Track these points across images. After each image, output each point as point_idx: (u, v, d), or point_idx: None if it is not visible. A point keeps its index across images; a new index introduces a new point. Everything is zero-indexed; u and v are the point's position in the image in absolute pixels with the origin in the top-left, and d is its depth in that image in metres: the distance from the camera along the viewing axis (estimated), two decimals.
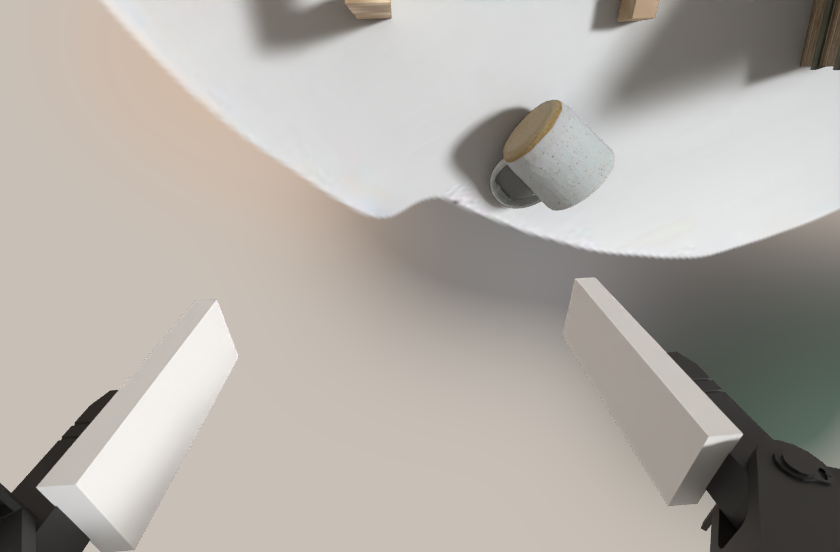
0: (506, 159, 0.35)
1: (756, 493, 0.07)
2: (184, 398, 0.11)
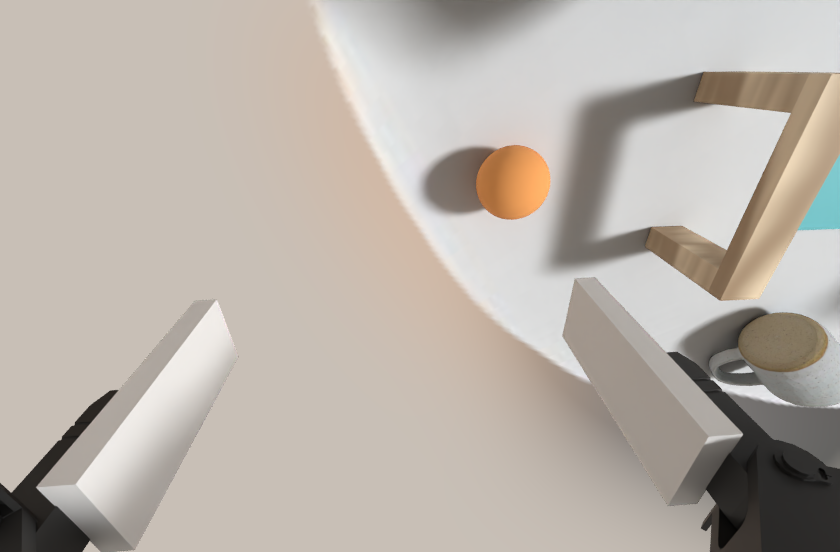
0: (752, 362, 0.38)
1: (756, 493, 0.07)
2: (184, 398, 0.11)
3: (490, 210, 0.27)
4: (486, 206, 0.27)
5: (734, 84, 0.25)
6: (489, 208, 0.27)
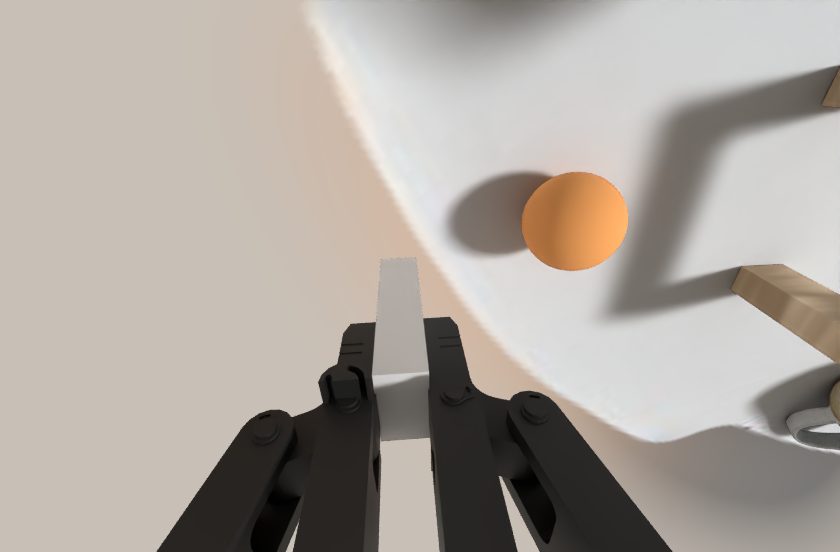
0: None
1: (433, 434, 0.08)
2: None
3: (543, 260, 0.20)
4: (537, 254, 0.20)
5: None
6: (541, 257, 0.20)
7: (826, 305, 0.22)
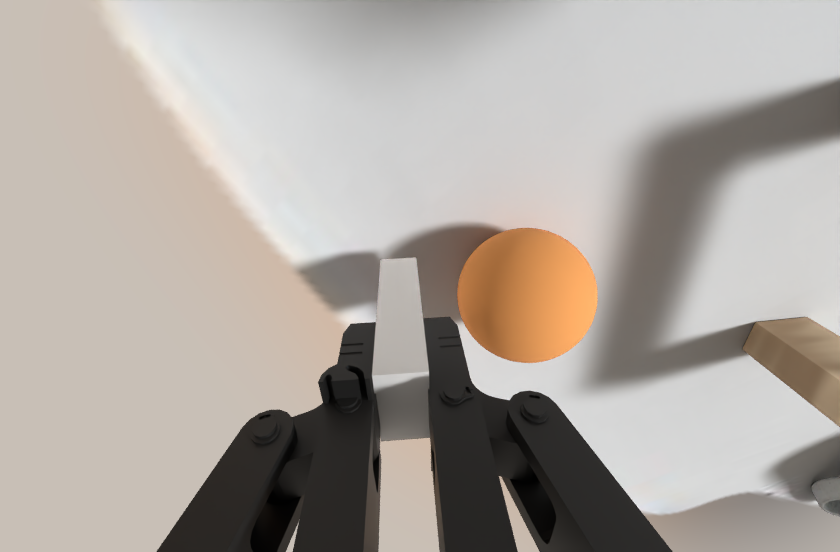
0: None
1: (433, 434, 0.08)
2: None
3: (485, 348, 0.15)
4: (478, 342, 0.15)
5: None
6: (483, 346, 0.15)
7: None
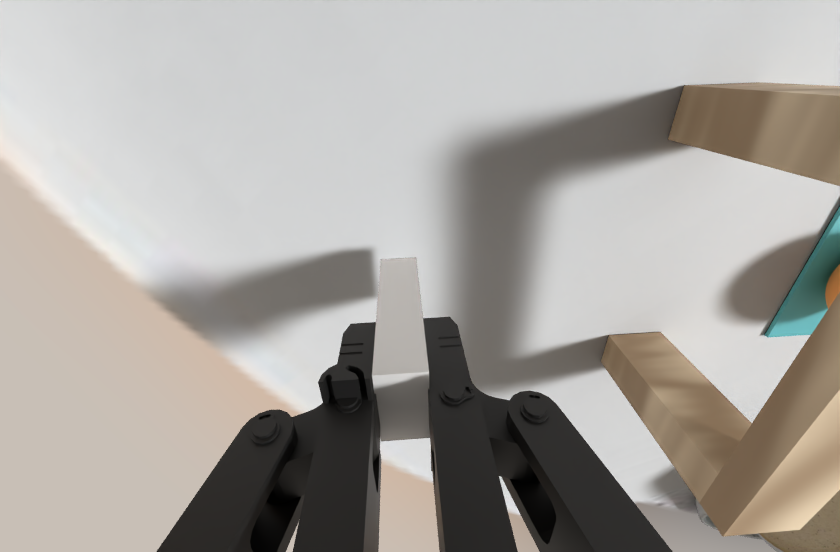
0: None
1: (432, 434, 0.08)
2: None
3: None
4: None
5: (746, 114, 0.12)
6: None
7: (689, 404, 0.16)
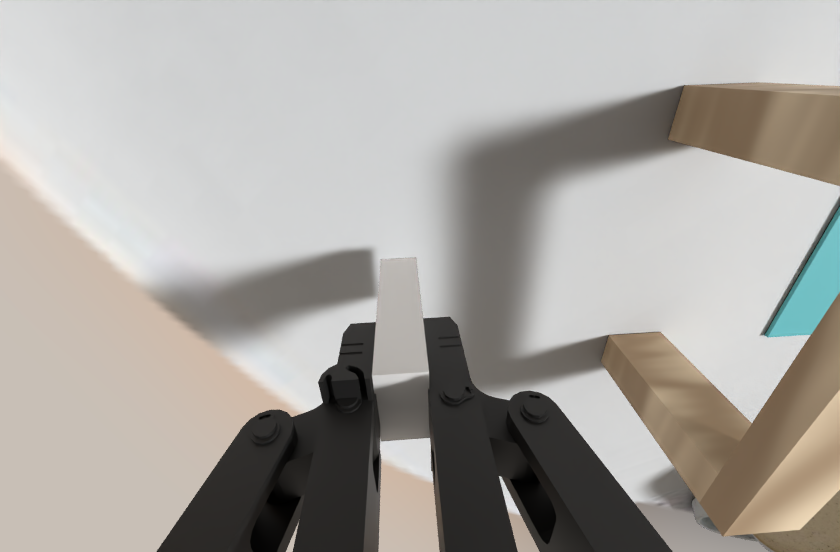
0: None
1: (432, 434, 0.08)
2: None
3: None
4: None
5: (746, 114, 0.12)
6: None
7: (689, 404, 0.16)
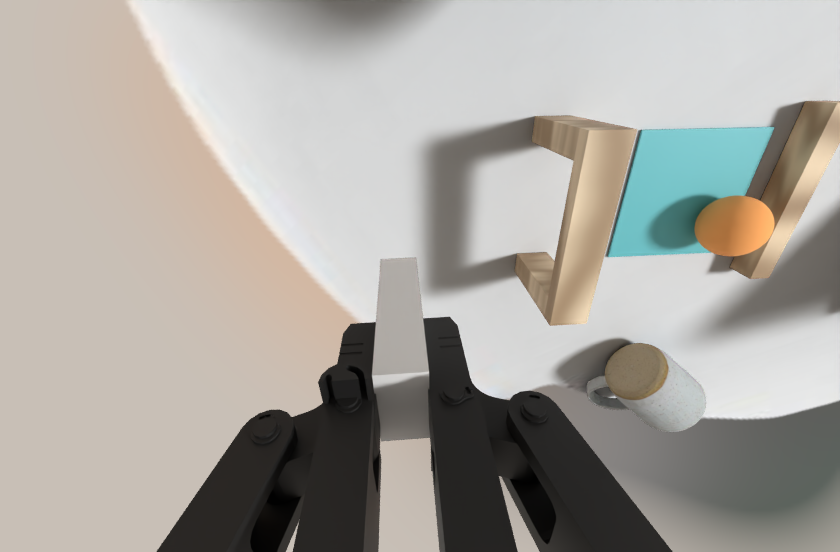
0: (612, 390, 0.40)
1: (433, 434, 0.08)
2: None
3: (702, 243, 0.34)
4: (699, 240, 0.34)
5: (548, 130, 0.27)
6: (701, 241, 0.34)
7: (546, 277, 0.31)
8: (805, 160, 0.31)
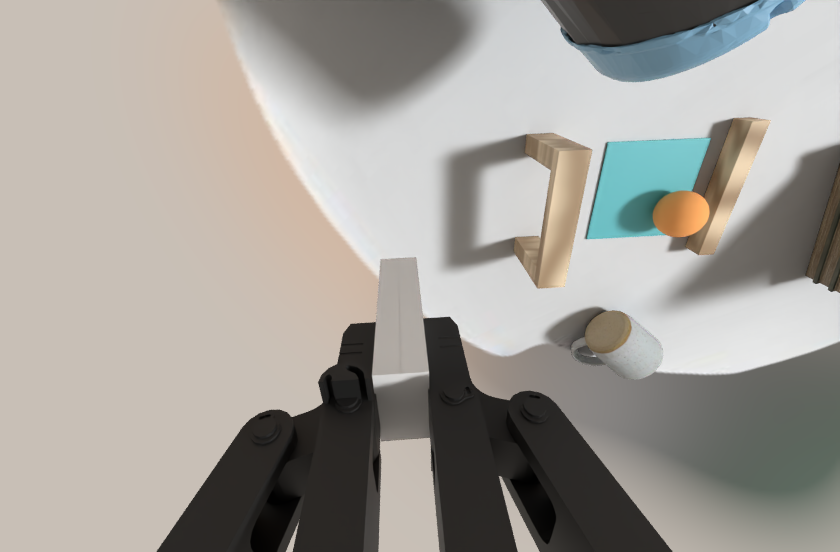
0: (589, 347, 0.51)
1: (433, 434, 0.08)
2: None
3: (657, 227, 0.44)
4: (655, 225, 0.44)
5: (535, 146, 0.38)
6: (656, 226, 0.44)
7: (536, 254, 0.42)
8: (733, 163, 0.41)
